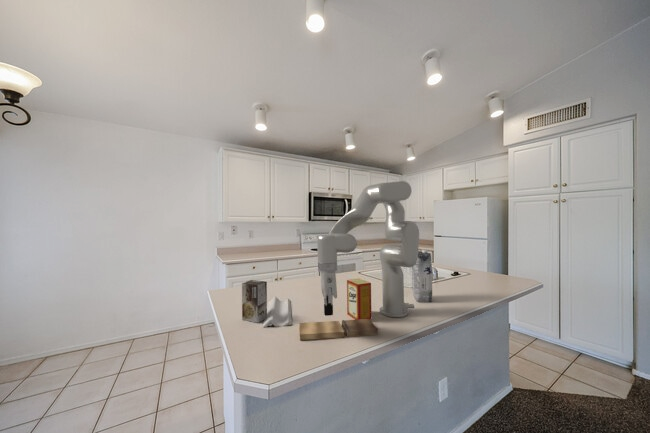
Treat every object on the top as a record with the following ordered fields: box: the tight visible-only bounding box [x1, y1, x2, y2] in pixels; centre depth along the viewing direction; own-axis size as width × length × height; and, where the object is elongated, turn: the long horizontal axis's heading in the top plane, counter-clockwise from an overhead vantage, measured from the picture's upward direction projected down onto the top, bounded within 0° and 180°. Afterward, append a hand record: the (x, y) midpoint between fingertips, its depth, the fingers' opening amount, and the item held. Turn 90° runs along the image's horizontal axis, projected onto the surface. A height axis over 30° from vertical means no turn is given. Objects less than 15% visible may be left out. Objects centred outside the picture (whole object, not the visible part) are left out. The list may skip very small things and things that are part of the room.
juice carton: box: [411, 249, 433, 303], centre depth 129 cm, size 9×10×27 cm
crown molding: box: [262, 296, 293, 329], centre depth 113 cm, size 31×12×4 cm, turn 9°
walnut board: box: [341, 319, 379, 338], centre depth 93 cm, size 12×10×2 cm
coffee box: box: [241, 279, 268, 324], centre depth 105 cm, size 9×6×16 cm
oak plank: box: [298, 320, 345, 341], centre depth 91 cm, size 16×10×2 cm, turn 98°
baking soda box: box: [346, 278, 373, 320], centre depth 107 cm, size 10×6×16 cm
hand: (328, 314), depth 92 cm, fingers closed
